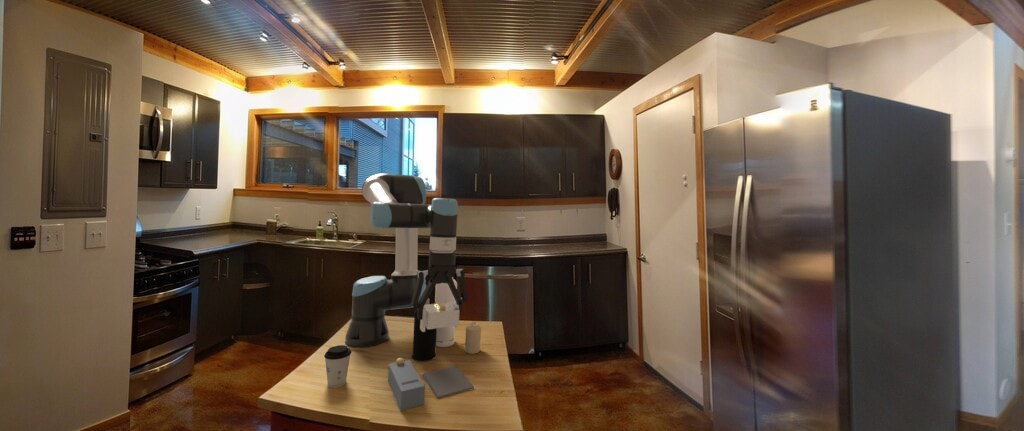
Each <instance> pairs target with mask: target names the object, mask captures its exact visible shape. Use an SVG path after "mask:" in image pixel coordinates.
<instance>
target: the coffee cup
mask: <svg viewBox="0 0 1024 431" xmlns="http://www.w3.org/2000/svg"><path fill="white" fill-rule="evenodd" d="M351 355H352V350H351V348H349V347H348V345H343V344H341V345H340V344H339V345H334V346H331V347H329V348H327V351H326V352H325V353H324V355H323V356H324V360H325V361H324V362H325V368H326V372H325V373H326V380H327V386H328V387H329V388H339V387H343V386H344V385H345V384H346V382H347V376H348V371H349V366H350V359H351Z"/></svg>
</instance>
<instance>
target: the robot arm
mask: <svg viewBox="0 0 1024 431" xmlns="http://www.w3.org/2000/svg"><path fill="white" fill-rule="evenodd" d="M361 193H362V197H363V198H364V199H365V200H366V201H367V202H369V203H370V209H369V223H370V225H371V227H373V228H381V229H395V261H394V262H395V264H394V266H395V269H394V271H393V272H392V273H391V275H390V276H391V278H390V279H388V278H387V277H386V276H385V275H371V276H367V277H363V278H360V279H358V280H356V281H355V282H354V283H353V284H352V286H353V287H352V293H351V296H352V300H351V301H352V305H351V320H350V323H349V325H348V329H347V331H346V334H345V341H344V342H345V344H346V345H347V346H350V347H355V348H366V347H373V346H378V345H380V344H382V343H385V342H386V341H388V339H389V334H390V332H389V328H388V323H387V321H386V318H385V316H386V311H391V310H398V309H399V310H400V309H411V308H417V318H418V319H419V320H420V329H421V331H422V332H425V319H426V308H425V307H424V305H425V303H426V301H427V300H428V298H429V299H430V296H431V294H432V292H433V291H434V288H436V284H441V283H447V284H448V285H449V288H450V290H451V292H452V294H453V296H454V298H455V301H456V303H453V305H454V306H456V307H457V308H458V309H459V316H460V315H462V308H463V304H464V303H465V302H467V303H468V301H469V297H468V292H467V286H466V281H465V275H466V274H465V273H466V271H465V269H463V268H461V267H460V268H457V267H456V254H457V253H456V252H455V251H456V250H457V227H458V214H459V210H458V206H459V205H458V201H457V199H455V198H443V197H434V198H432V200H431V204H426V202H427V188H426V183H425V181H424V179H423V178H422V177H419V176H415V175H411V174H410V175H407V174H394V173H386V172H383V173H376V174H374V175H370V176H369V177H368V178H366V180H364V182H363V183H362V186H361ZM418 229H430V231H429V232H430V233H429V236H430V237H429V248H428V249H429V250H430V252H429V253H428V254H429V255H428V267H427V269H426V270H418V250H419V249H418V242H419V241H418V238H419V234H418ZM455 274H456V277H457V281H458V282H457V283H458V286H459V292H458V288H457V289H456V287H455V285H454V282H453V279H454V276H455ZM427 275H428V276H429V280H428V282H427V281H426V277H427ZM452 277H453V279H452ZM426 283H427V284H426ZM458 327H459V325H456V326H455V328H458Z"/></svg>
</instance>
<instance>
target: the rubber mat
mask: <svg viewBox="0 0 1024 431" xmlns="http://www.w3.org/2000/svg"><path fill="white" fill-rule="evenodd" d="M422 376H423V378H424V379H425V381H426V383H427V384H428V386H429V388H430V389H431V390H432V392H433V394H434V395H435V397H436V399H441V398H444V397H448V396H449V397H450V396H452V395H455V394H459V393H463V392H467V391H470V390H474V389H475V385H474V384H473V383H472V382H471V381H470V380H469V379H468V378H467V376H466V375H465V374H464V373H463V372H462V371H461V369H460V368H459V367H458V365H453V366H450V367H444V368H439V369H434V370H431V371H427V372H423V373H422Z"/></svg>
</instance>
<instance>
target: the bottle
mask: <svg viewBox="0 0 1024 431" xmlns="http://www.w3.org/2000/svg"><path fill="white" fill-rule="evenodd" d="M452 279H453V282H454V285H455V287H456V289H457V290H458V282H457V281H456V279H454V276H453V277H452ZM434 291H435V293H434V294H435V296H434V303H435V302H441V303H447V302H451V303H452V304H453V303H456V301H455V298H454V296H453V294H452V292H451V290H450V288H449V285H448V284H447V283H441V284H436V286H435V290H434ZM455 335H456V327H455V326H449V327H442V328H437V333H436V347H438V348H440V347H441V348H446V347H451V346H453V345H454V344H455V339H456V338H455Z"/></svg>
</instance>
